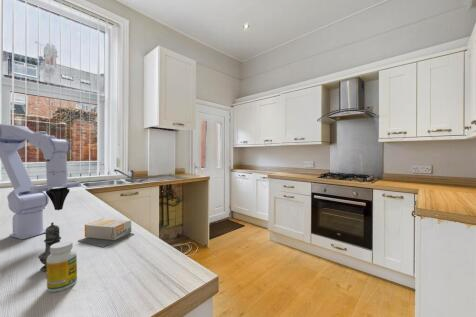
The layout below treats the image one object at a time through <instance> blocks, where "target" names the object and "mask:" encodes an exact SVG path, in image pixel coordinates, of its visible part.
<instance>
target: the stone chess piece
mask: <svg viewBox="0 0 476 317" xmlns="http://www.w3.org/2000/svg"><path fill="white" fill-rule="evenodd" d="M44 230H45V231H46V233H45V239H44V240H43V242H44V243H45V248H44V252H42V253H40V254H39V255H38V256H37V257H38V259H39V261H40V263H41V264H42V266H41V268H40V269H39V271H40V272H42V273H44V272H45V273H47V266H46V260H47V257H48V256H49V255H50V254H51V253H50V246H51V245H53V244H55V243H58V242H61V240H62V237H61V236H60V226H59V225H56V224H54V222H51V223H50V226H48V227H46V229H44Z"/></svg>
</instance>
